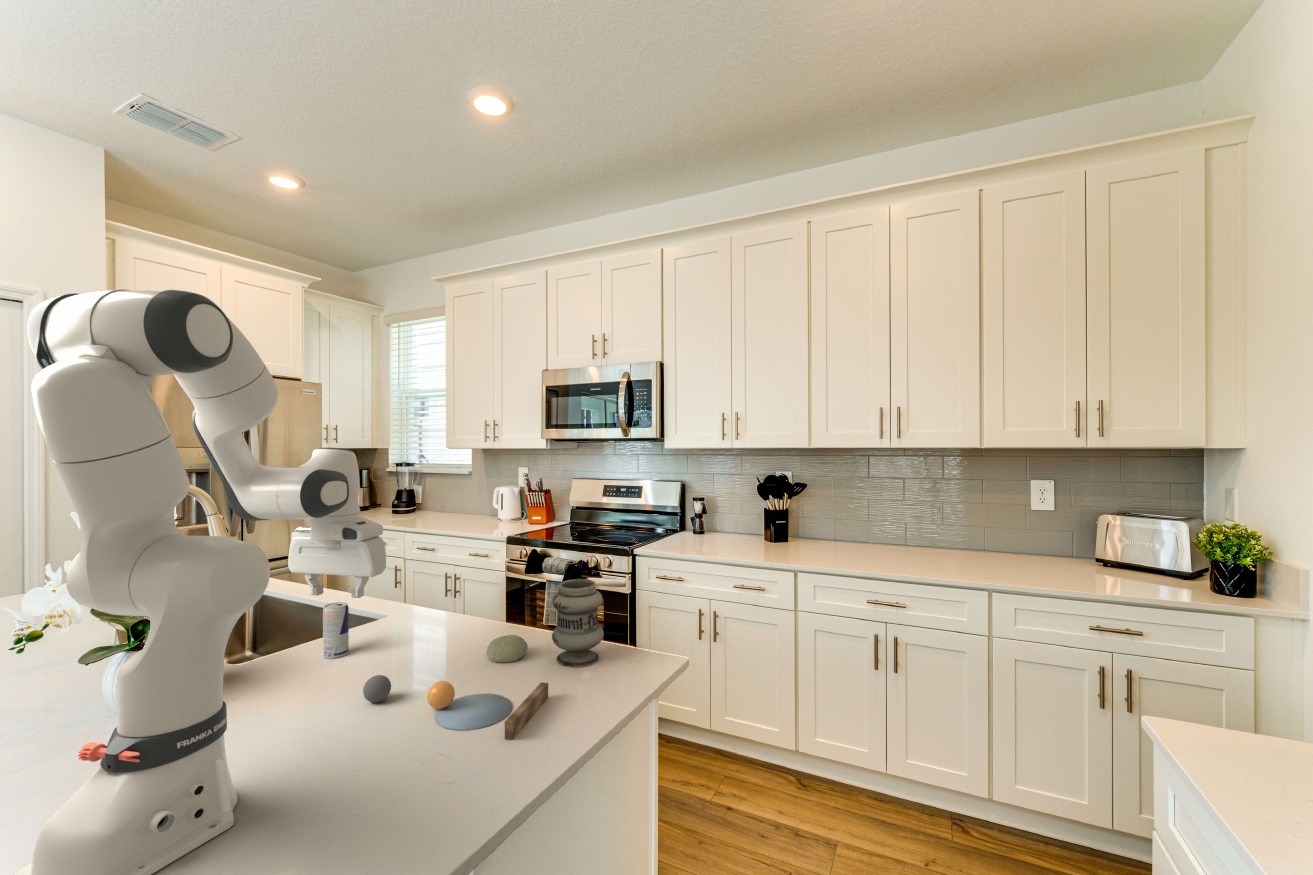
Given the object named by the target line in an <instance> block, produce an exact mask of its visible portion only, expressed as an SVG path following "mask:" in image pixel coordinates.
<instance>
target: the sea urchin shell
mask: <svg viewBox="0 0 1313 875" xmlns="http://www.w3.org/2000/svg"><path fill="white" fill-rule="evenodd" d="M527 651H528V643H527V642H526V640H525V639H524V638H523V637H521V636H519V635H515V634H508V635H503V636H499V637H496V638H495V639H493V640H491V641H490V642H489V644H488V645H487V647H486V655H487V657H488V659H489V660H490V661H492V662H494V663H496V664H497V663H501V664H502V663H512V662H515V661H518V660H520V659H522V658H523V657H524V656H525V655H526V653H527Z"/></svg>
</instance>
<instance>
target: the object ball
mask: <svg viewBox="0 0 1313 875" xmlns="http://www.w3.org/2000/svg"><path fill="white" fill-rule="evenodd" d="M455 695H456V692H455V688H454V685H453V684H452V683H451V682H449V681H447V680H440V681H437V682H434V684H432V685H431V686H430V688H429V689H428V691H427V696H426V697H427V698H426V700H427V704H429V706H430V707H431V708H432V709H435V710H438V709H444V708H446V707H448V706H449V705H450V704H451V703H452V701H453V700H454V699H455Z"/></svg>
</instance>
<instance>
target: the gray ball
mask: <svg viewBox="0 0 1313 875" xmlns="http://www.w3.org/2000/svg"><path fill="white" fill-rule="evenodd" d="M391 683H392V682H391V680H390V679H389V677H388V676H386V675H384V674H377V675H373V676H371V677H370V678H369V679H368V680H367V681H365V683H364V685H363V688H362V691H363V692H362V693H363V697H364V699H365V700H366V701H368V702H370V703H376V704H377V703H380V702H382V701H384V700H386V698H388V696H389V695H390V693H391V690H392V684H391Z"/></svg>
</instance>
